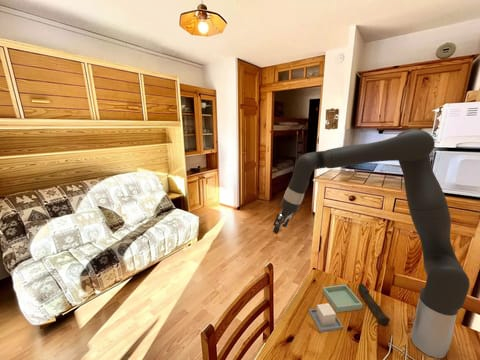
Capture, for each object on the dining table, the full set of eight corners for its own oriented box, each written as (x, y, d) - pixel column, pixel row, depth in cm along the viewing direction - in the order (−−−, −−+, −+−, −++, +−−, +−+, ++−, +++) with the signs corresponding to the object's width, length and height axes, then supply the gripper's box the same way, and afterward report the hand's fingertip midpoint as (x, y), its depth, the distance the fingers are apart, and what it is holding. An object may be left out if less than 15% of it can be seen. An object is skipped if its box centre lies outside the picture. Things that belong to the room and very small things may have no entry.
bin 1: (329, 309, 88) (330, 306, 87) (343, 329, 79) (343, 326, 78) (308, 312, 86) (309, 309, 86) (319, 333, 78) (320, 330, 77)
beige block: (327, 313, 85) (328, 303, 84) (334, 324, 80) (335, 313, 79) (316, 315, 84) (316, 304, 83) (322, 326, 80) (323, 315, 78)
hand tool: (389, 326, 80) (391, 316, 79) (378, 326, 80) (380, 316, 79) (364, 289, 98) (366, 281, 97) (355, 289, 98) (357, 280, 97)
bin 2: (345, 289, 98) (346, 284, 97) (361, 309, 87) (362, 304, 86) (322, 292, 96) (323, 287, 96) (336, 313, 86) (337, 307, 85)
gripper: (293, 208, 80) (279, 240, 86) (306, 199, 91) (293, 228, 97) (277, 198, 83) (264, 230, 90) (291, 191, 95) (279, 219, 101)
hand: (279, 229), depth 94 cm, fingers open, 8 cm apart
